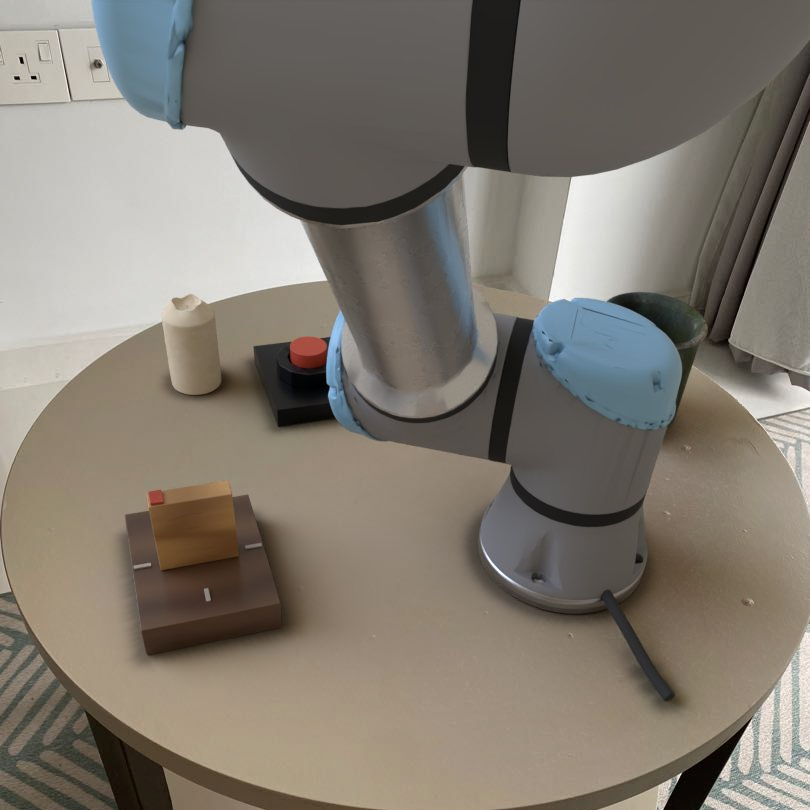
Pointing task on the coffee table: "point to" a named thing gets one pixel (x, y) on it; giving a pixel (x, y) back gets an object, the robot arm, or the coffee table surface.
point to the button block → (293, 386)
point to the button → (308, 352)
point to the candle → (191, 345)
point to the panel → (202, 588)
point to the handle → (193, 524)
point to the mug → (670, 326)
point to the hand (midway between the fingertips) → (492, 162)
